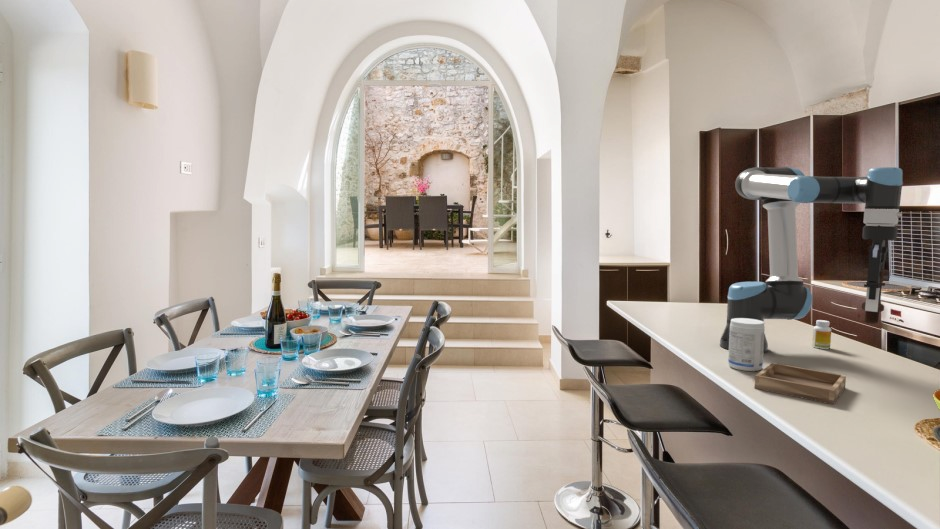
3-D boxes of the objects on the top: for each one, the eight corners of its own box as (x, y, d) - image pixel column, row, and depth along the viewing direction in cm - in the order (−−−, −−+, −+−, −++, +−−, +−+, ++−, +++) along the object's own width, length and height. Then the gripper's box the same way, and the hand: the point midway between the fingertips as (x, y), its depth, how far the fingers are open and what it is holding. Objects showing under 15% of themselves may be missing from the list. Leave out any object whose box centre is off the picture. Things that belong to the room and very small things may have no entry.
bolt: (887, 325, 146) (892, 270, 145) (866, 324, 147) (871, 270, 146) (875, 321, 152) (880, 268, 150) (855, 320, 153) (860, 267, 151)
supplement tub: (744, 362, 173) (747, 317, 171) (769, 370, 164) (772, 322, 162) (720, 364, 169) (723, 318, 168) (745, 373, 160) (748, 324, 159)
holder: (771, 374, 160) (772, 362, 159) (845, 388, 148) (846, 375, 147) (754, 388, 147) (755, 375, 146) (833, 404, 134) (834, 390, 134)
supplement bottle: (833, 349, 191) (835, 322, 190) (818, 349, 191) (820, 322, 190) (823, 346, 197) (825, 319, 196) (808, 345, 197) (810, 319, 196)
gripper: (894, 226, 138) (885, 316, 140) (900, 225, 151) (892, 307, 153) (858, 225, 143) (850, 312, 145) (867, 224, 156) (860, 304, 158)
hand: (872, 309), depth 149 cm, fingers closed on bolt, 4 cm apart
